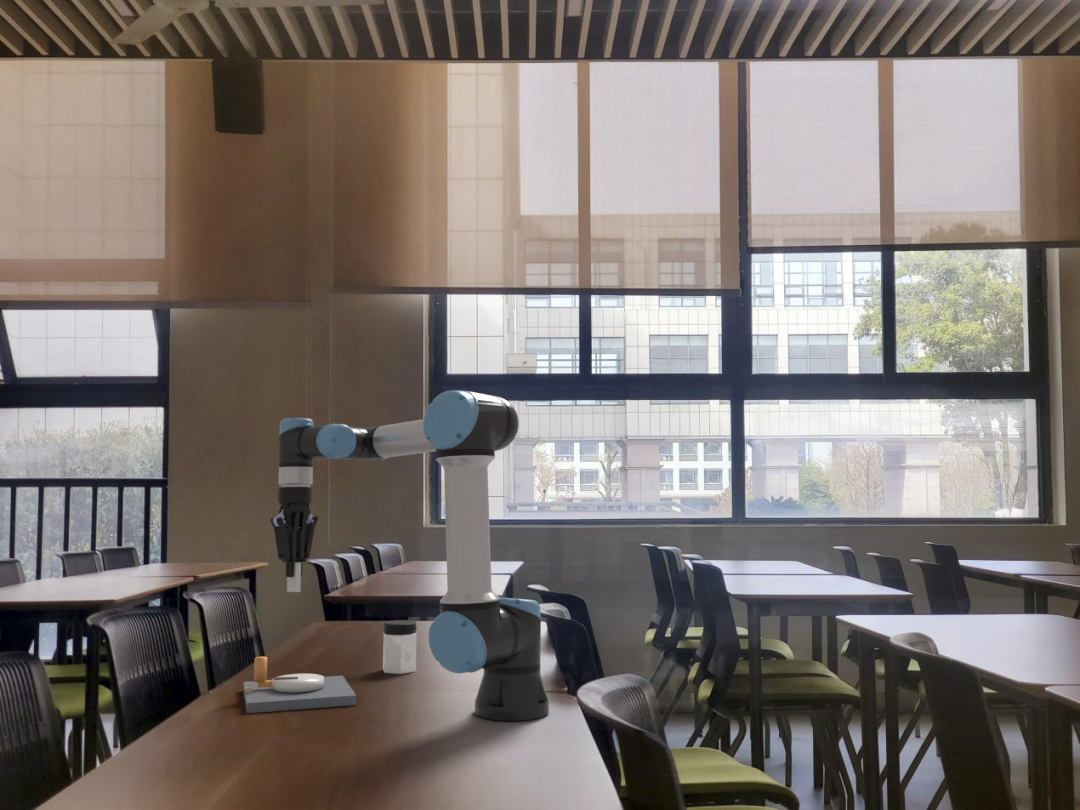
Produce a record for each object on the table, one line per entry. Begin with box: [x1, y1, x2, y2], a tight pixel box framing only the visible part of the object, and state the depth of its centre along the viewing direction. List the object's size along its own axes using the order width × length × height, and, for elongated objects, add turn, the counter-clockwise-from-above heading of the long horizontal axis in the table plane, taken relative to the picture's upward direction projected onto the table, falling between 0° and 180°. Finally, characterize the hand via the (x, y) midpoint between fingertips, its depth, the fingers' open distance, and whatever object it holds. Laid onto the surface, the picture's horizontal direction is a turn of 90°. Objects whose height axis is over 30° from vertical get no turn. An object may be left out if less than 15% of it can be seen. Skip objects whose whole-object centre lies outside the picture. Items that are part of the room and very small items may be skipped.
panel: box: [242, 675, 357, 714], centre depth 198 cm, size 22×22×3 cm
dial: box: [253, 656, 325, 692], centre depth 199 cm, size 15×11×6 cm
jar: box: [382, 619, 418, 675], centre depth 229 cm, size 9×8×12 cm
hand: (293, 591), depth 204 cm, fingers closed
